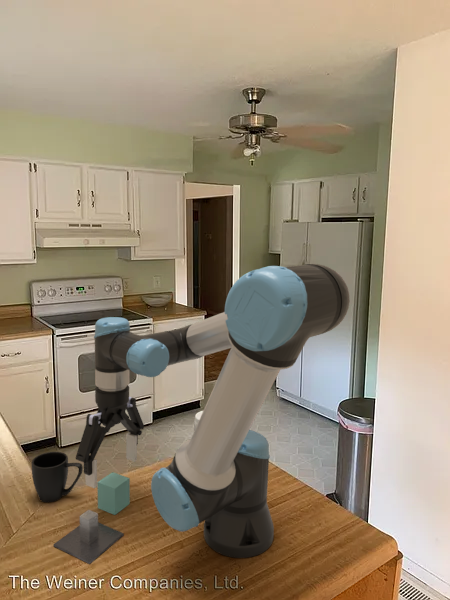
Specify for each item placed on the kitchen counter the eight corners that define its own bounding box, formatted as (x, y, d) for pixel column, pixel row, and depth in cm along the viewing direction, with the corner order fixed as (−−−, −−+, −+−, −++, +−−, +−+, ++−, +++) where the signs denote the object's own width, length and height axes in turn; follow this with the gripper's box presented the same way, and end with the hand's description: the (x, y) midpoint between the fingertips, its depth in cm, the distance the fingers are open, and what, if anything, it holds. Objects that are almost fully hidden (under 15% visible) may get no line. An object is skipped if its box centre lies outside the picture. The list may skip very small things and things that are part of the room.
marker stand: (123, 535, 101) (123, 509, 100) (89, 564, 92) (88, 536, 91) (89, 520, 105) (88, 495, 104) (53, 546, 97) (52, 519, 96)
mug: (74, 509, 109) (73, 471, 108) (26, 504, 111) (24, 466, 109) (89, 489, 117) (88, 454, 116) (43, 485, 119) (42, 450, 117)
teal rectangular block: (129, 503, 112) (129, 478, 111) (114, 515, 107) (114, 488, 106) (113, 497, 114) (112, 472, 113) (97, 508, 110) (97, 482, 109)
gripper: (135, 368, 119) (134, 446, 122) (57, 399, 97) (59, 493, 101) (159, 374, 115) (157, 454, 119) (83, 407, 94) (84, 504, 97)
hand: (112, 472), depth 110 cm, fingers open, 13 cm apart
